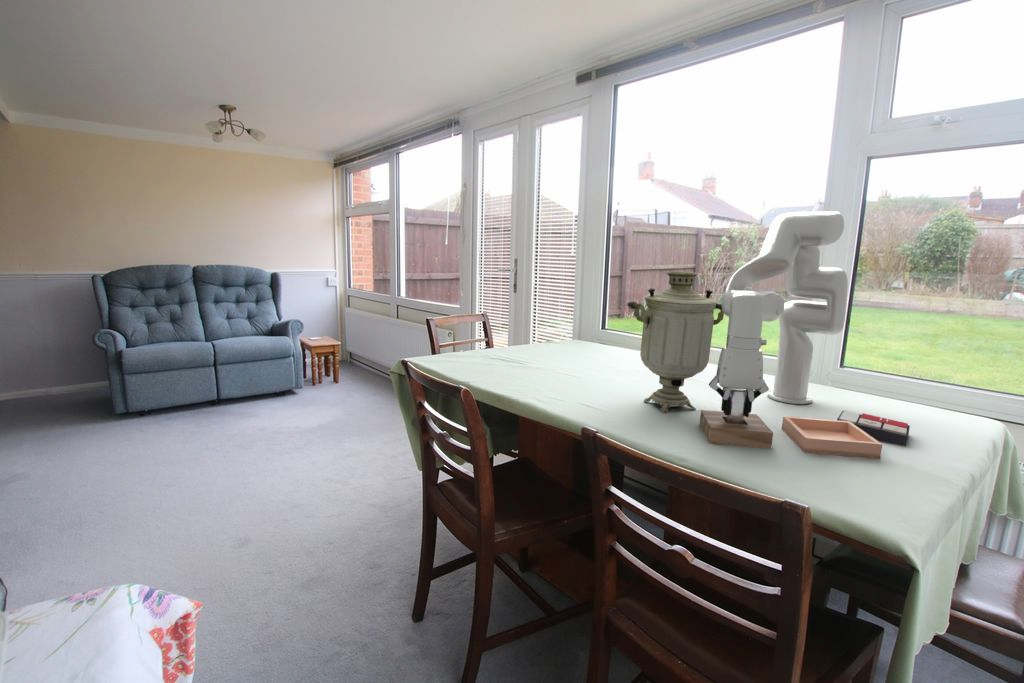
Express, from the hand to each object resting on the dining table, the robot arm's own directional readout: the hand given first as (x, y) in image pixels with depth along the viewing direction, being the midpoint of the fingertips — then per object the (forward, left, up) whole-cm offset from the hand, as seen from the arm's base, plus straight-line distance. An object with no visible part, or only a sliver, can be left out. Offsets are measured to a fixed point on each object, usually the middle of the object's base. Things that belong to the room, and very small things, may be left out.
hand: (735, 413), depth 126 cm
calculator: (-11, +37, -6) cm, 39 cm away
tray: (-1, +22, -6) cm, 23 cm away
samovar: (-25, -13, -6) cm, 29 cm away
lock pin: (0, 0, -6) cm, 6 cm away
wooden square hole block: (0, 0, -6) cm, 6 cm away
